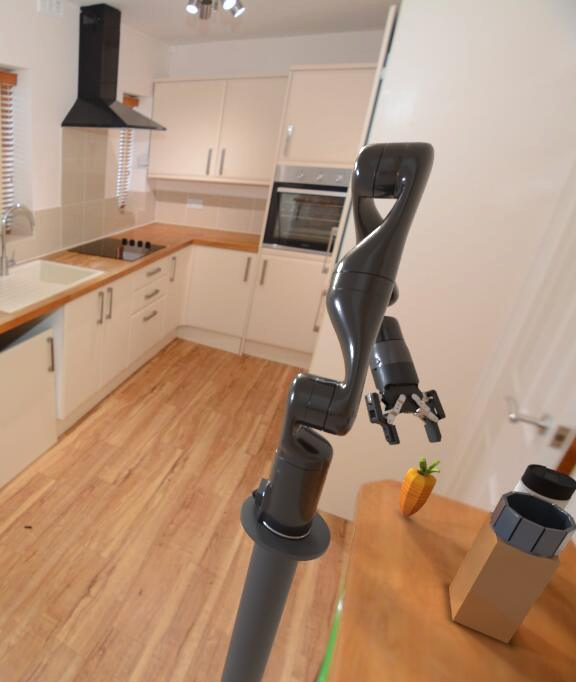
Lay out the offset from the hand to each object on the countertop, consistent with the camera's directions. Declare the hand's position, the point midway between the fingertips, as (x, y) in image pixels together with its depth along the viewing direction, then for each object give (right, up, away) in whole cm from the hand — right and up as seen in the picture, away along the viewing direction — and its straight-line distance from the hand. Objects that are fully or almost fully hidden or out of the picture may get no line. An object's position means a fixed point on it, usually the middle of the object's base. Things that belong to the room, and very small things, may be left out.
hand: (415, 443), depth 90 cm
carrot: (0, -16, +3) cm, 16 cm away
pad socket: (-2, -25, -16) cm, 29 cm away
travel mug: (+12, -20, -5) cm, 24 cm away
